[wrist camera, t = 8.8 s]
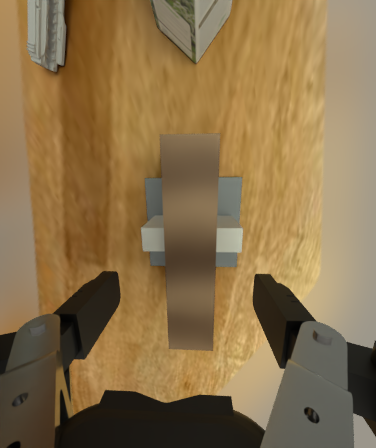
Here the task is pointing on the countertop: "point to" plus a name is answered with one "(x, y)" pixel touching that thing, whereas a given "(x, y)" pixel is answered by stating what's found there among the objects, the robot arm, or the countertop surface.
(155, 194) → the board
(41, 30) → the light grey flat bar
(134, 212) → the countertop surface
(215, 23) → the syrup box
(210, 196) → the walnut bar
